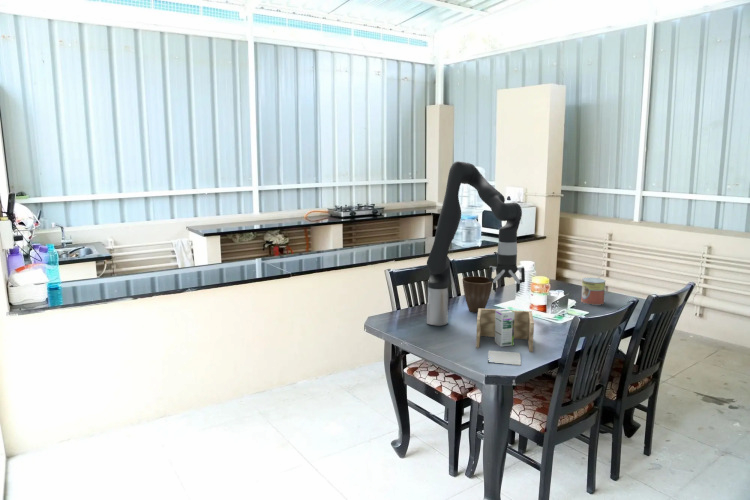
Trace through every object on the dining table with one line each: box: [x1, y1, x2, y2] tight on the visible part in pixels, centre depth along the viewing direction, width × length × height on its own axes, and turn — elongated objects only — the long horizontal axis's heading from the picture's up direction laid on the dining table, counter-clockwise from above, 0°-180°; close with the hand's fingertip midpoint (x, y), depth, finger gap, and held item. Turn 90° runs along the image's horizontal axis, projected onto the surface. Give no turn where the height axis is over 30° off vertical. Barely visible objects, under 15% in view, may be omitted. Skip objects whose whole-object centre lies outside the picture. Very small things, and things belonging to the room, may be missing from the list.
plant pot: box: [461, 275, 493, 313], centre depth 262 cm, size 15×15×16 cm
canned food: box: [580, 277, 606, 306], centre depth 276 cm, size 11×11×12 cm
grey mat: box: [487, 350, 522, 367], centre depth 201 cm, size 12×12×1 cm
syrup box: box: [494, 308, 515, 348], centre depth 215 cm, size 6×6×14 cm
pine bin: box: [475, 308, 535, 353], centre depth 216 cm, size 22×16×12 cm
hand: (506, 291), depth 212 cm, fingers open, 8 cm apart
